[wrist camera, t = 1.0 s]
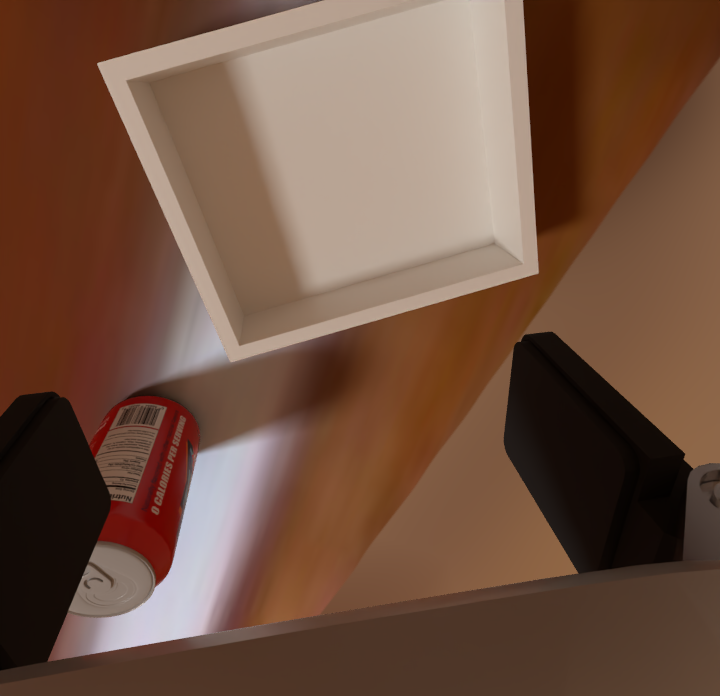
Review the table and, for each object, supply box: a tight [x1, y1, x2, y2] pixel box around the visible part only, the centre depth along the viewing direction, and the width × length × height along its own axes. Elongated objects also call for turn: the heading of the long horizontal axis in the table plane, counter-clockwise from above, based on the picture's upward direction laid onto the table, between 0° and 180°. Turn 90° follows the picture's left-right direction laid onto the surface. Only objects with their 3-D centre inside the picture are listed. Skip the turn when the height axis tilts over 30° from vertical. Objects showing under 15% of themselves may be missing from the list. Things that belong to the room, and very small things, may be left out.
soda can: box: [68, 396, 200, 618], centre depth 34 cm, size 8×8×15 cm
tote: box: [97, 0, 538, 362], centre depth 31 cm, size 22×18×6 cm
